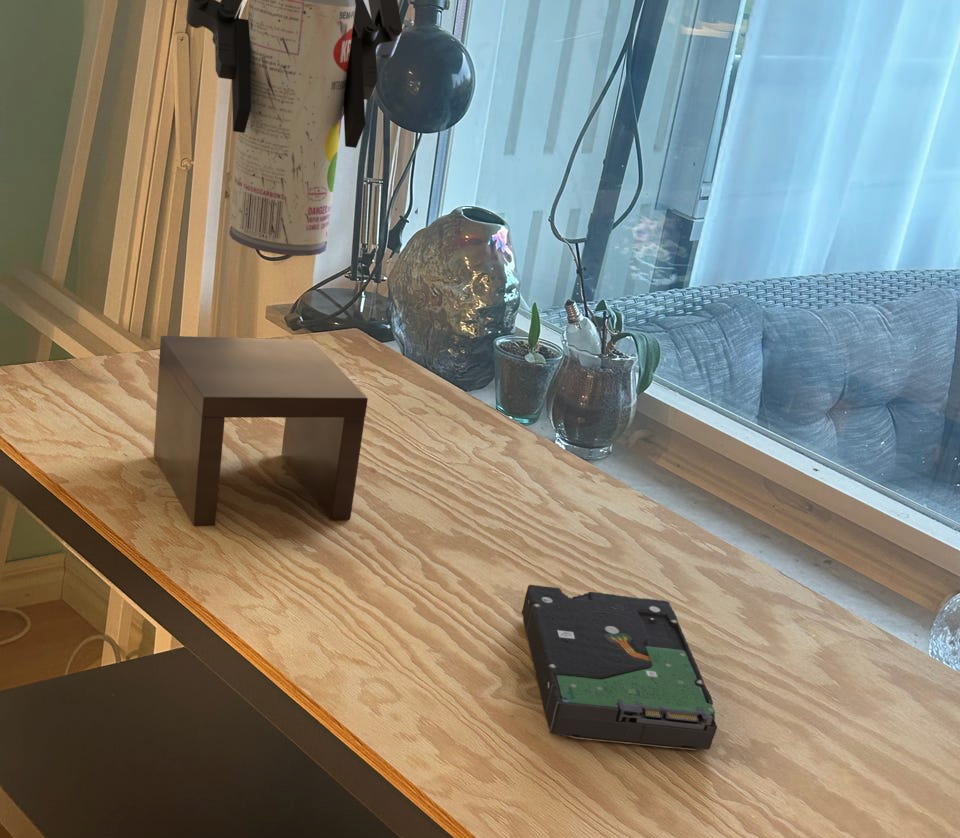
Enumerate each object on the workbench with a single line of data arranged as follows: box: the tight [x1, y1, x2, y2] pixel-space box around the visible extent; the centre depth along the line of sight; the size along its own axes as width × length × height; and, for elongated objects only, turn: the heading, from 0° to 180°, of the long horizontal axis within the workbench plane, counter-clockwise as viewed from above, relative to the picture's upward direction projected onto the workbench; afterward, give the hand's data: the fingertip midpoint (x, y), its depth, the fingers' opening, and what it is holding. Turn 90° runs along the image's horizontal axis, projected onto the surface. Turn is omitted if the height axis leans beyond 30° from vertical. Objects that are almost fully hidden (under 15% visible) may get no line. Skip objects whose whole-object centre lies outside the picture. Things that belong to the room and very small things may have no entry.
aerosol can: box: [229, 0, 356, 257], centre depth 89 cm, size 7×7×20 cm
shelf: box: [153, 335, 369, 527], centre depth 99 cm, size 12×12×10 cm
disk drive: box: [521, 584, 718, 751], centre depth 86 cm, size 10×3×15 cm
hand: (299, 127), depth 87 cm, fingers closed on aerosol can, 7 cm apart
